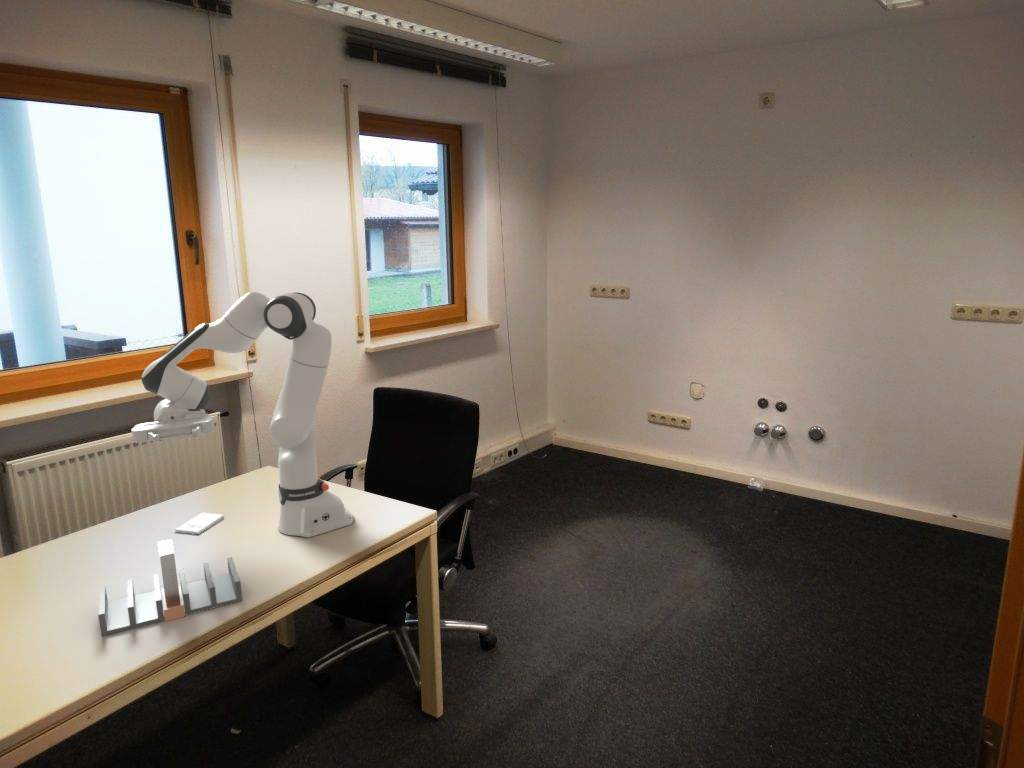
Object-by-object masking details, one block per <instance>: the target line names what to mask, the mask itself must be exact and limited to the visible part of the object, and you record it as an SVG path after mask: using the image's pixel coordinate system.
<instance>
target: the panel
mask: <svg viewBox="0 0 1024 768" xmlns="http://www.w3.org/2000/svg"><path fill="white" fill-rule="evenodd" d="M157 546H158V554H159V559H160V567H161V569H160V570H161V575H162V583H163V588H164V592H165V599H166V606H167V608H170V607H174V606H178V605H181V604H180V596H179V588H178V585H179V583H178V574H177V566H176V559H175V558H176V557H175V550H174V545H173V540H172V539H167V540H161V541H158V542H157Z"/></svg>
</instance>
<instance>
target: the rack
mask: <svg viewBox="0 0 1024 768" xmlns="http://www.w3.org/2000/svg"><path fill="white" fill-rule="evenodd" d="M226 561H227V568H228V569H227V570H228V573H226V574H221V575H216V576H213V575H212V571H211V568H210V563H209V562H203V563H202V565H203V572H204V574H203V575H204V579H200V580H196V581H191V582H187V578H186V573H185V567H182V568H178V573H179V574H178V575H179V581H180V583H179V584H178V588H179V596H180V604H181V605H178V606H174V607H170V608H167V606H166V599H165V592H164V587H163V588H161V581H160V573H154V574H152V576H153V586H154V590H153V591H148V592H144V593H139V594H135V589H134V588H135V587H134V581H133V578H131V579H127V580H126V595H127V596H126V597H122V598H117V599H114V600H110V601H109V600H108V594H107V593H108V592H107V587H106V585H100V586H99V593H98V594H99V595H98V612H97V613H98V621H99V628H100V634H101V637H104V636H109V635H112V634H117V633H120V632H124V630H125V631H129V630H133V629H137V628H140V626H141V627H144V625H145V626H148V625H152V624H157V623H160V622H170V621H174V620H177V618H178V619H181V617H182V618H185V617H184V616H187V615H186V614H189V615H191V614H190V613H192V614H195V613H194V612H196V613H200V612H203V611H202V610H204V611H207V610H206V609H208V610H211V609H210V608H212V609H214V608H213V607H216V608H218V607H217V606H220V607H222V606H221V605H224V606H227V605H226V604H228V605H231V603H232V604H235V602H236V603H239V602H238V601H240V602H243V594H242V586H241V579H240V577H239V573H238V571H237V567H236V565H235V561H234V559H233V556H231V557H230V556H229V557H227V559H226ZM199 611H200V612H199ZM173 619H174V620H173ZM136 627H137V628H136ZM128 629H129V630H128ZM116 632H117V633H116Z"/></svg>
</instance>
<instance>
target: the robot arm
mask: <svg viewBox="0 0 1024 768" xmlns="http://www.w3.org/2000/svg"><path fill="white" fill-rule="evenodd" d="M316 314H317V307H316V304H315V301H314V300H313V299H312V298H311V297H310V296H309V295H307V294H305V293H301V292H287V293H282V294H280V295H277V296H275V297H273V298H272V299H270V298H269V297H267V296H266V295H264V294H263V293H261V292H258V291H250V292H247V293H245V294H244V295H242V297H240V298H238V299H237V300H236V301H235V303H234V304H233V305H232V306H231V307H230V308H229V309H228V310H227V311H226V312H225V314H224V315H223V316H222V317H221V318H219V319H217V320H216V321H213V322H210V323H209V322H203V323H200V324H199V325H197V326H196V327H194V328H193V329H192V330H190V331H189V332H188V333H186V335H184V336H183V337H182V338H181V339H179V340H178V342H176V343H175V344H174V345H173V346H171V348H169V349H168V350H166V352H164V353H163V354H162V355H160V356H159V357H158V358H156V359H155V360H154V361H152V362H151V363H149V364H148V365H147V367H145V368H144V370H143V372H142V374H141V377H140V378H141V383H142V385H143V387H144V389H145V390H146V391H147V392H150V393H152V394H154V395H158V396H160V397H161V398H164V399H162V400H160V401H159V402H158V403H157V405H156V406H155V408H154V411H153V420H154V421H149V422H143V423H138V424H135V425H133V427H132V428H131V430H130V433H131V434H132V440H133V443H135V444H141V443H151V442H153V443H160V441H163V440H168V441H169V440H170V441H174V440H175V441H176V440H179V439H182V438H185V437H192V438H199V436H200V435H207V434H212V433H215V431H216V428H215V420H214V418H213V417H212V416H211V415H210V414H209V413H206V410H205V409H204V408H205V407H206V405H207V403H208V401H209V399H210V387H209V384H208V382H206V381H204V380H203V379H202V378H199V377H198V376H196V375H194V374H191V373H189V372H188V371H186V370H184V369H183V368H181V367H180V366H177V365H178V364H179V363H180V362H182V361H183V360H184V359H185V358H186V357H188V356H189V355H190V354H191V353H192V352H194V351H196V350H201V349H206V350H213V351H219V352H222V353H226V354H228V353H229V354H238V353H241V352H244V351H247V350H248V349H250V347H251V346H252V345H253V344H255V342H256V341H257V340H258V339H259V337H260V336H261V335H262V333H263V332H264V331H265V330H266V329H267V328H270V330H272V331H273V332H275V333H277V334H279V335H280V336H282V337H284V338H285V339H287V340H291V341H292V346H291V349H290V350H291V351H290V355H289V359H288V363H287V368H286V372H285V376H284V380H283V383H282V387H281V389H280V392H279V396H278V398H277V402H276V403H275V404H276V405H275V408H274V410H273V415H272V418H271V420H270V421H271V422H270V425H269V431H268V432H269V437H270V439H271V441H272V442H273V444H275V445H276V446H277V447H279V450H278V459H277V465H278V477H279V479H278V480H279V484H278V499H279V503H280V513H279V521H278V524H277V525H278V526H277V530H278V532H280V533H282V534H284V535H287V536H297V537H302V538H312V537H316V536H318V535H322V534H325V533H328V532H331V531H335V530H337V529H340V528H344V527H348V526H350V525H352V524H353V523H354V515H353V514H352V512H351V511H350V510H349V509H348V508H347V507H345V505H344V503H343V500H342V499H341V498H340V497H339V496H338V495H336V494H334V493H332V492H330V491H328V490H330V486H329V484H328V483H327V482H325V481H324V480H322V479H321V478H320V477H318V467H317V446H318V441H317V440H318V411H317V407H318V405H319V400H320V397H321V394H322V391H323V388H324V383H325V379H326V375H327V373H328V367H329V364H330V363H329V362H330V358H331V353H332V339H333V337H332V333H331V331H330V330H329V329H328V328H327V327H325V325H322V324H318V323H316V322H315V321H314V319H315V318H316Z"/></svg>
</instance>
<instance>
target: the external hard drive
mask: <svg viewBox="0 0 1024 768" xmlns="http://www.w3.org/2000/svg"><path fill="white" fill-rule="evenodd" d="M224 518H225V515H224V514H219V513H210V512H201V513H199V514H197V515H196V516H194V517H192V518H190V520H188V521H187V522H185V523H183V524H181V525H180V526H178V527H177V528H176V529H174V532H175V531H176V532H175V533H178V532H184V533H183V534H189V533H193V534H192V535H194V534H199V533H201V532H202V533H203V531H204V530H205V531H207V530H208V529H209V527H210V528H212V525H213V526H214V525H215V523H216V524H217V523H219V522H220V521H222V520H223V519H224ZM206 529H207V530H206ZM205 531H204V532H205ZM202 533H201V534H202ZM199 535H200V534H199Z"/></svg>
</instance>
